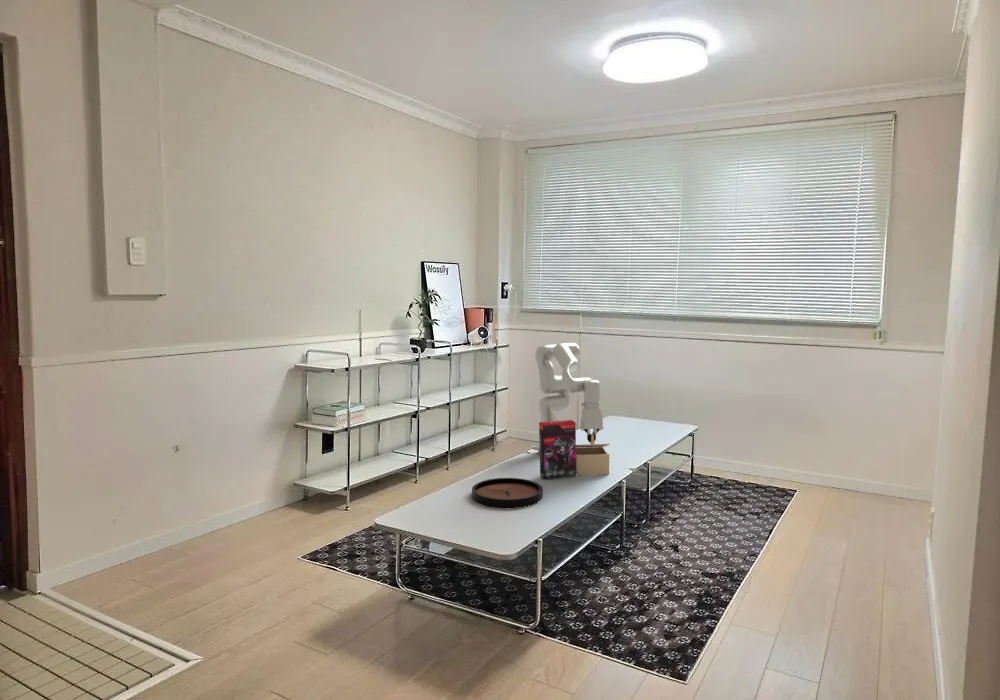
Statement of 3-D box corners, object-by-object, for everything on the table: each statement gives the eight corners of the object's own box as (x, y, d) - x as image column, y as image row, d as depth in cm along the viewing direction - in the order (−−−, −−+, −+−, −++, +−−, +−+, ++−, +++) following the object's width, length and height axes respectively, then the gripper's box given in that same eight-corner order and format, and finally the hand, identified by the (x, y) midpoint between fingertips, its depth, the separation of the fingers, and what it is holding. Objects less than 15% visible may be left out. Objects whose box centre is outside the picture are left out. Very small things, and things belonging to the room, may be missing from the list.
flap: (576, 445, 330) (575, 434, 331) (571, 447, 344) (570, 436, 345) (609, 445, 332) (608, 433, 333) (603, 446, 345) (602, 435, 346)
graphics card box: (543, 480, 323) (543, 424, 320) (538, 476, 329) (538, 421, 326) (576, 477, 327) (577, 422, 324) (571, 473, 334) (571, 419, 331)
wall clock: (557, 488, 300) (507, 505, 278) (557, 496, 300) (507, 514, 278) (507, 473, 322) (457, 488, 300) (507, 481, 322) (457, 497, 301)
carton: (577, 475, 331) (577, 455, 330) (571, 467, 345) (571, 447, 344) (609, 474, 333) (609, 454, 331) (602, 466, 346) (602, 447, 345)
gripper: (577, 406, 328) (577, 444, 330) (609, 406, 329) (608, 443, 331) (574, 403, 335) (574, 440, 337) (605, 403, 337) (605, 439, 339)
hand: (591, 441), depth 334 cm, fingers closed
